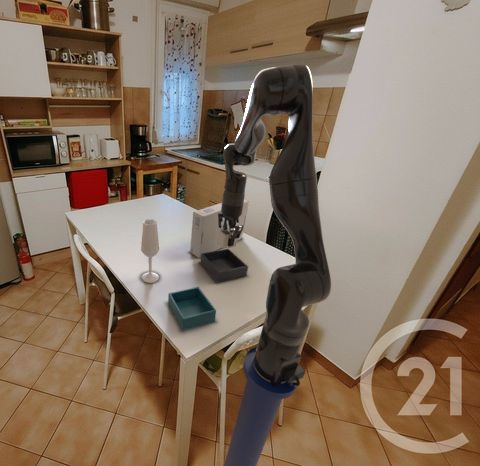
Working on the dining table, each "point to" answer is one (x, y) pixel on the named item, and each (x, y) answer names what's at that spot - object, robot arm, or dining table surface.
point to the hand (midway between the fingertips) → (226, 242)
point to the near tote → (191, 308)
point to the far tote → (223, 265)
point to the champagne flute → (150, 247)
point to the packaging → (209, 229)
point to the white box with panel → (224, 239)
